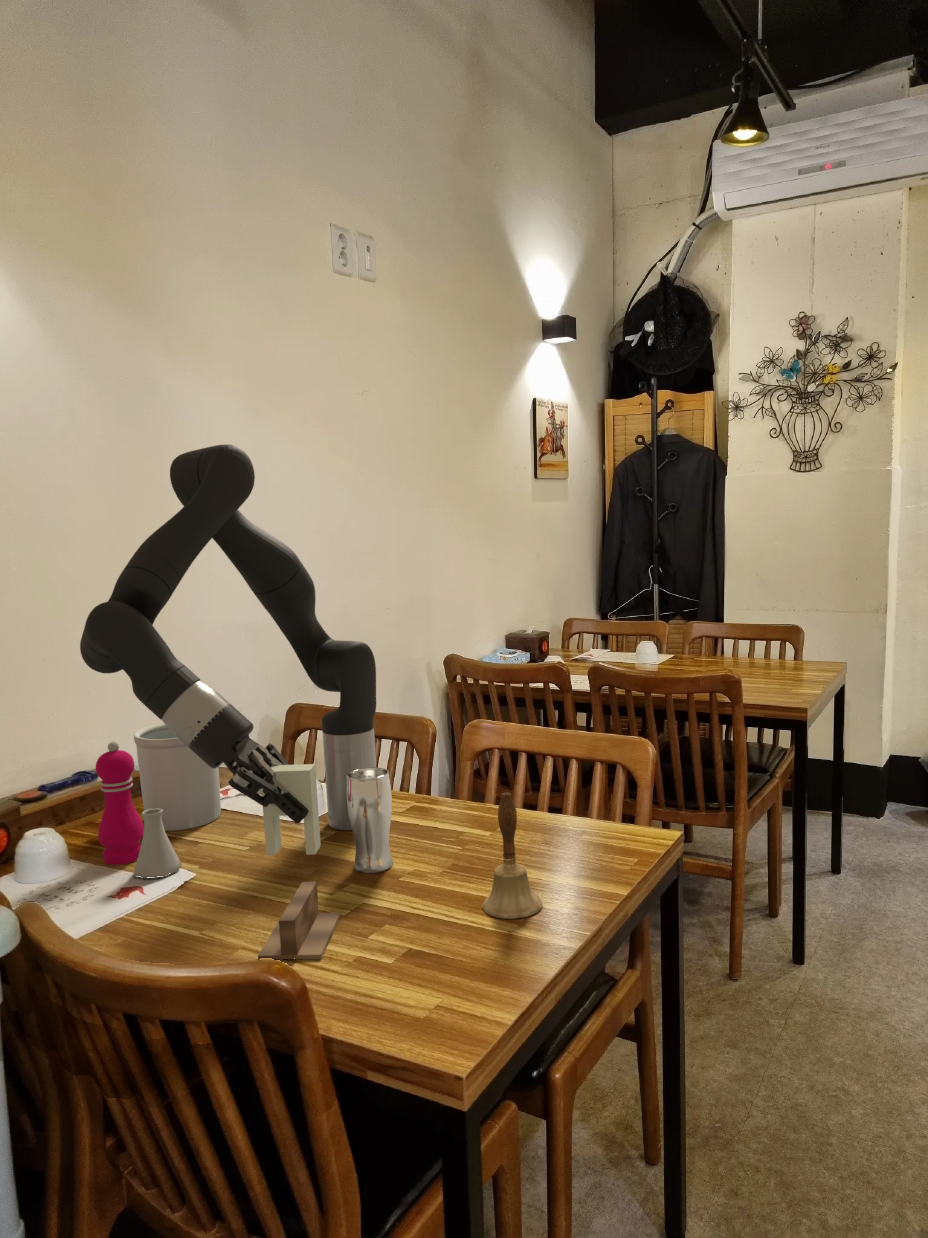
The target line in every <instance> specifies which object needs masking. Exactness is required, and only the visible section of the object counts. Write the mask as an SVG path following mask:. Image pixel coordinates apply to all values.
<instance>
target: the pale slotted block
mask: <svg viewBox="0 0 928 1238" xmlns="http://www.w3.org/2000/svg"><path fill="white" fill-rule="evenodd" d="M270 768H271V769H272V770H273V772H274V773H275V774H276V780H277V781H278V782H279V783H281V784H282V785H283V787H284V788H285V789H286V790H287V793H288V792H289V793H291V794H292V795H293V796H294V797H295V798H296V799H297V800H298V801H299V802H301V803H302V804H303V805H304V806H305V807H306V808H307V809H308V811H309V812H308V814H307V815H306V817H305V818H304V819H303V828H304V829H303V830H304V843H305V854H306V855H308V856H309V855H316V854H317V852H318V851H319V849H320V848H321V847H322V846H321V832H320V831H321V829H320V816H319V815H320V814H319V802H318V801H319V800H318V799H319V798H318V788H317V787H318V785H317V783H318V782H317V771H316V763H308V764H306V763H305V764H304V763H303V764H301V763H300V764H289V765H279V766H273V765H272V766H271V767H270ZM265 778H266V776H265ZM265 778H264V779H263V780H265ZM287 793H286V794H287ZM261 796H262V795H261ZM262 797H263V796H262ZM262 813H263V829H264V830H263V831H264V841H265V843H264V844H265V853H266V854H265V856H276V855H277V854H278V852H279V851H280V850H281V849H282V847H283V844H282V831H281V830H282V829H281V816H283V817H284V816H287V815H286V814H285V813H284V812H283V811H282V810H280V809H279V808H278V807H277V806H276V805H275V806H272V805H270V804H269V805H268V806H267V807H264V806H262ZM287 817H288V816H287Z"/></svg>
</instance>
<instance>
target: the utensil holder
mask: <svg viewBox="0 0 928 1238" xmlns="http://www.w3.org/2000/svg"><path fill="white" fill-rule="evenodd" d="M133 740H134V741H133V742H134V743H135V745H136V746H135V747H136V755H137V764H138V773H139V780H140V781H139V783H140V788H141V797H142V799H141V800H142V806H143V811H145V810H148V809H155V808H159V809H163V813H162V823H163V826H164V830H165V832H173V831H174V832H177V831H183V830H189V829H190V830H191V829H194V828H199V827H202V826H206V825H208V824H210V823H212V822H213V821H215V820H217V819H218V818H219V817H220V816H221V813H222V811H221V810H222V809H221V808H222V805H221V788H220V787H221V785H220V774H219V772H220V770H219V766H218V767H217V768H211V767H210V766H209V765H207V764H206V763H205V762H204V761H203V760H202V759H201V758H200V757H199V756H198V755H196V754H195V753H194V752H193V751H192V750H191V749H190V748H189V747H188V746H186V745H185V744H184V743H183V742H182V741H181V740H180V739H179V738H177V737H176V736H175V735H174V734H173V733H172V732H171V731H170V729H169V728H168V727H167V726H166V725H165V723H164V722H162V723H158V724H153V725H149V726H145V727H143V728H139V729H138V730H137V731H135V732H134V734H133Z"/></svg>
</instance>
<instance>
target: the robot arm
mask: <svg viewBox="0 0 928 1238" xmlns="http://www.w3.org/2000/svg"><path fill="white" fill-rule="evenodd" d="M253 465H254V464H253V462H252V460H251V458H250V456H249V455H248V454H247V453H246V452H245V450H243V449H242V448H241V447H239V446H237V445H233V444H216V445H212V446H208V447H202V448H199V449H194V450H190V451H187V452H184V453H181V454H180V455H178V456H176V457H175V458H174V459H173V460H172V462H171V464H170V468H169V479H170V484H171V487H172V490H173V492H174V493H175V495H176V498H177V500H179V502H180V503H181V505H182V506H183V507H182V508H181V509H180V510H179V511H178V512H176V513H175V514H174V515H173V516H172V517H171V518H170V519H169V520H167V521H166V522H164V523H163V524H162V525H161V526H160V527H158V528H157V529H156V530H155V531H154V532H152V534H150V535H149V536H148V537H147V538H146V539H145V540H144V541H143V542H142V543H141V545H140V546H139V547H138V548H137V549H136V551H135V552H134V553H133V555H132V556H131V557H130V559H129V560H128V562H127V564H126V565H125V567H124V568H123V570H122V571H121V573H120V575H119V576H118V578H117V580H116V582H115V584H114V586H113V587H114V588H113V591H112V592H111V595H110V597H109V598H108V601H105V602H102V603H99V604H98V605H96V606H94V607H93V609H91V611H90V612H89V614H88V616H87V618H86V621H85V623H84V628H83V631H82V634H81V639H80V642H79V643H80V644H79V649H80V655H81V658H82V660H83V661H84V663H85V664H86V666H88V667H89V669H91V670H93V671H95V672H97V673H101V674H114V673H118V672H122V670H123V671H124V673H125V674H126V675H127V676H128V677H129V679H130V681H131V687H132V688H131V689H132V691H133V694H134V695H135V697H136V698H137V700H138V701H140V703H142V705H143V706H145V708H147V709H148V710H149V711H150V712H151V713H153V715H154V716H156V717H157V718H158V719H159V720H161V722H162V723H165V725H166V726H167V727H168V728H169V729H170V731H171V732H172V733H173V734H174V735H175V736H176V737H177V738H179V739H180V740H181V741H182V742H183V743H184V744H185V745H186V746H188V747H189V748H190V749H191V750H192V751H193V752H194V753H195V754H196V755H198V756H199V757H200V758H201V759H202V760H203V761H204V762H205V763H206V764H207V765H209V766H210V767H211V768H217V767H218V768H219V766H221V765H222V764H223V765H224V766H226V768H227V769H228V771H229V772H230V773H231V774H233V775H232V777H231V778H230V779H229V780H228V782H227V783H228V786H230V787H232V788H233V789H234V790H236V791H238V792H239V793H242V795H244V796H246V797H247V798H249V799H250V800H252V801H255V803H257V804H259V805H261V806H262V807H263V806H264V807H267V806H268V805H269V804H270V805H272V806H275V805H276V806H277V807H278V808H279V809H280V810H282V811H283V812H284V813H285V814H286V815H287V817H288V818H290V820H291V821H292V822H294V823H295V824H300V823H301V822H302V821H304V818H305V817H306V815H307V814H308V812H309V811H308V809H307V808H306V807H305V806H304V805H303V804H302V803H301V802H299V801H298V800H297V799H296V798H295V797H294V796H293V795H292V794H291V793H289V792H288V793H287V790H286V789H285V788H284V787H283V785H282V784H281V783H279V782H278V781H277V780H276V774H275V773H274V772H273V770H272V769H271V768H270V767H271V766H272V765H273V766H279V765H290V764H289V762H288V761H287V760H286V759H285V758H284V756H283V755H282V754H281V752H280V751H279V750H278V749H277V748H276V747H275V745H274V744H272V743H270V742H269V743H268V744H267V745H266V746H265V747H264V746H263V745H261V744H260V743H258V742H256V741H255V740H254V739H252V738H251V737H250V736H249V735H250V734H251V733H252V732H253V729H254V724H253V723H252V721H250V720H249V718H247V717H246V716H245V715H244V714H243V713H241V712H240V711H239V709H237V708H236V707H235V706H234V705H232V703H230V702H229V701H228V700H227V699H226V698H225V697H223V696H222V695H221V694H220V693H219V692H218V691H216V689H215V688H213V687H211V686H210V685H208V684H207V683H206V682H204V681H203V680H201V678H200V677H198V676H197V674H195V673H194V672H193V671H192V670H190V668H189V667H187V666H186V665H185V664H183V663H182V661H180V660H179V659H178V658H177V657H176V656H175V655H174V653H173V652H172V650H171V648H170V647H169V646H168V644H167V643H166V642H165V640H164V639H163V637H162V636H161V634H160V633H159V632H158V631H157V629H156V628H155V626H153V625H154V623H155V621H156V619H157V617H158V615H159V614H160V613H161V611H162V610H163V608H164V607H165V606H166V604H167V603H168V602H169V601H170V599H171V597H172V596H173V594H174V593H175V590H176V589H177V587H178V586H179V584H180V583H181V581H182V579H183V578H184V576H185V574H186V573H187V572H188V570H189V569H190V567H191V565H192V564H193V562H194V561H195V560H196V558H198V556H199V554H200V553H201V552H202V551H203V549H204V548H205V547H206V546H207V545H208V544H209V542H210V541H211V540H213V541H214V542H215V543H216V544H217V545H218V546H219V548H220V549H221V551H222V552H223V553H224V554H225V556H226V557H227V558H228V559H229V561H230V562H231V564H233V567H234V568H236V570H237V571H238V573H239V574H240V575H241V576H242V578H243V579H244V581H245V582H246V584H247V585H248V587H249V588H250V590H251V591H252V593H253V594H254V595H255V597H256V599H257V600H258V601H259V602H260V604H261V605H262V607H263V608H264V609H265V611H266V612H267V613H268V614H269V615H270V617H271V618H272V620H273V621H274V622H275V624H276V625H277V626H278V628H279V629H280V631H281V633H282V634H283V635H284V637H285V638H286V640H287V641H288V643H289V645H290V646H291V648H292V650H293V651H294V653H295V654H296V656H297V658H298V660H299V661H300V664H301V665H302V667H303V669H304V671H305V673H306V674H307V676H308V677H309V680H311V682H312V683H313V684H314V685H315V687H317V688H318V689H321V690H322V691H326V692H332V693H333V692H335V693H339V696H340V698H339V706H338V707H337V709H334V710H332V711H329V712H327V713H324V715H323V716H322V717H321V731H322V744H323V757H324V758H323V760H324V774H325V775H324V776H325V787H326V788H325V789H326V805H327V820H328V826H329V827H330V828H332V829H335V830H339V831H353V830H352V826H351V822H350V818H349V813H348V806H347V774H348V773H349V772H351V771H353V770H357V769H362V768H378V767H377V755H376V742H375V741H376V740H375V739H376V737H375V728H374V727H375V725H374V723H375V722H374V719H375V715H376V711H377V667H376V659H375V655H374V652H373V651H372V649H371V647H370V646H369V644H367V643H365V642H362V641H358V640H335V639H333V638H332V637H331V636H329V634H328V633H327V632H326V631H325V630H324V628H323V627H322V625H321V623H320V622H319V619H318V618H317V616H316V587H315V583H314V581H313V578H312V577H311V575H310V574H309V572H308V570H307V569H306V567H305V565H304V564H303V563H302V561H301V560H300V558H299V556H297V554H296V552H294V551H293V550H292V549H291V548H290V547H289V546H288V545H287V544H285V542H283V541H281V540H280V539H279V538H277V537H276V536H274V535H272V534H271V533H269V532H268V531H266V530H264V529H263V528H261V527H260V526H258V525H257V524H255V523H253V522H252V521H251V520H249V519H248V518H247V517H246V516H245V515H244V514H243V513H242V512H241V511H240V508H241V506H242V505H243V504H244V503H245V502H246V501H247V499H248V498H249V497H250V495H251V494H252V491H253V489H254V485H255V480H256V479H255V478H256V475H255V474H256V473H255V467H254V466H253ZM265 776H266V778H265ZM264 778H265V780H263V779H264ZM286 793H287V794H286ZM262 796H263V797H262Z"/></svg>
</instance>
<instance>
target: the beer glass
mask: <svg viewBox="0 0 928 1238" xmlns="http://www.w3.org/2000/svg"><path fill="white" fill-rule="evenodd" d="M392 803H393V799H392V788H391V779H390V771H389V770H388V769H386V768H383V767H377V768H362V769H357V770H353V771H351V772H349V773H348V774H347V806H348V813H349V818H350V822H351V826H352V830H351V831H352V834H353V838H354V844H355V855H354V857H355V858H354V863H353V865H354V866H353V867H354V869H355V871H356V872H359V873H364V874H375V873H381V872H385V871H387V870H390V868H392V867H393V864H394V861H393V856H392V853H391V848H390V831H391V829H390V828H391V820H392V809H393V804H392Z"/></svg>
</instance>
